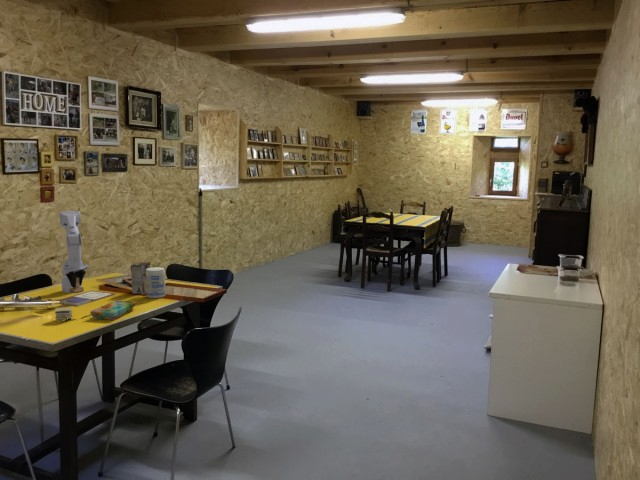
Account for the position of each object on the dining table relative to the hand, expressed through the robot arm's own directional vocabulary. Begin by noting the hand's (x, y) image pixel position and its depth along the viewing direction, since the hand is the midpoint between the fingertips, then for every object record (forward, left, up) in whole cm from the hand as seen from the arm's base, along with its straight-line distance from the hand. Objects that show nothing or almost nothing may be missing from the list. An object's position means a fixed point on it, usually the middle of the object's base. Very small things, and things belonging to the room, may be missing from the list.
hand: (76, 286), depth 264 cm
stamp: (0, 0, -3) cm, 3 cm away
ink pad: (0, 0, -8) cm, 8 cm away
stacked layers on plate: (+15, -22, -10) cm, 28 cm away
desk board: (-4, +8, -9) cm, 13 cm away
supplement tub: (+24, +29, -10) cm, 39 cm away
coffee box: (+13, +31, -10) cm, 35 cm away
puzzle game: (+28, -5, -10) cm, 30 cm away
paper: (-4, +14, -8) cm, 17 cm away
